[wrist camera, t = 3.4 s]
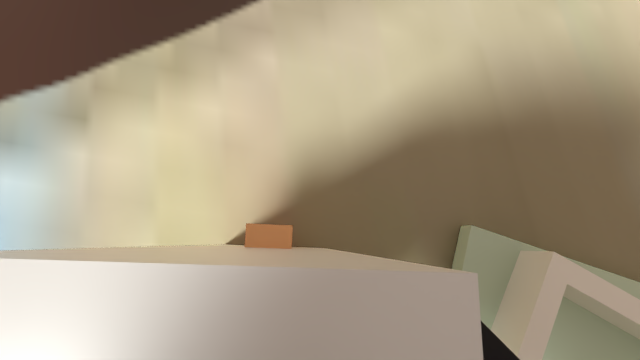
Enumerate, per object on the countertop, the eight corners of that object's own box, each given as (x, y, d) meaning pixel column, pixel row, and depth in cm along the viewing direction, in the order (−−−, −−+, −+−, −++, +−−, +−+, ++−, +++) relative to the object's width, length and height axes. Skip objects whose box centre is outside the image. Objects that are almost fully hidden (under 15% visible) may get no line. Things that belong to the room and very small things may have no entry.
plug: (322, 332, 15) (520, 917, 2) (216, 331, 14) (-400, 1057, 2) (325, 232, 16) (472, 188, 3) (226, 228, 15) (-100, 154, 3)
